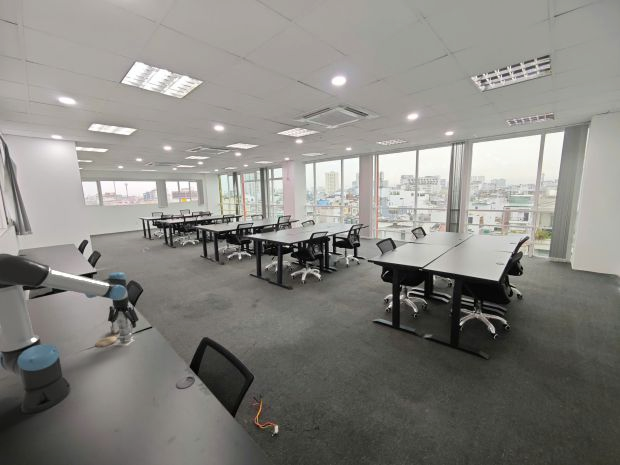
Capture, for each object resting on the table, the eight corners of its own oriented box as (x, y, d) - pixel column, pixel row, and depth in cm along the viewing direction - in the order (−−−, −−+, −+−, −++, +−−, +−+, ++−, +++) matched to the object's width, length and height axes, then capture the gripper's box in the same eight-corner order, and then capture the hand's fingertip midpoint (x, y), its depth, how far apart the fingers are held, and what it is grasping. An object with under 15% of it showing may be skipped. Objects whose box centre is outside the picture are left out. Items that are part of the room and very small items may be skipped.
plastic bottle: (127, 343, 152) (123, 312, 149) (116, 343, 152) (112, 312, 149) (135, 337, 158) (131, 307, 155) (124, 337, 158) (120, 307, 155)
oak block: (120, 332, 165) (119, 325, 164) (111, 333, 163) (110, 326, 163) (123, 328, 169) (122, 321, 169) (115, 329, 168) (114, 322, 167)
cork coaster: (107, 347, 149) (107, 346, 149) (91, 346, 150) (91, 345, 150) (121, 337, 159) (121, 336, 159) (106, 337, 160) (106, 336, 160)
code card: (127, 345, 150) (127, 345, 150) (113, 345, 151) (113, 344, 151) (138, 337, 159) (138, 337, 159) (125, 336, 160) (125, 336, 160)
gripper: (143, 295, 153) (147, 329, 157) (108, 294, 156) (112, 327, 159) (133, 301, 146) (137, 336, 149) (96, 299, 148) (102, 334, 152)
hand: (125, 332), depth 154 cm, fingers open, 11 cm apart
